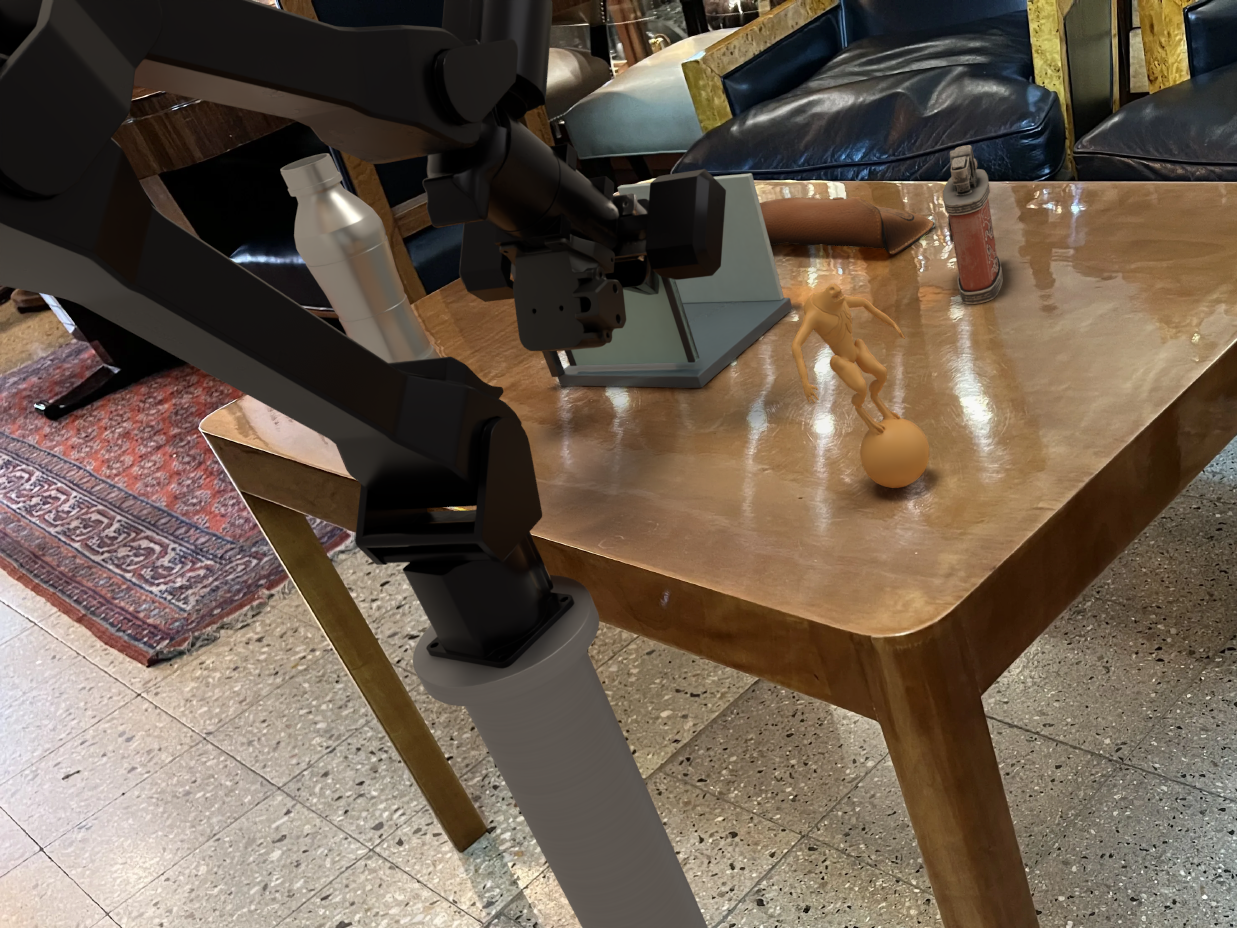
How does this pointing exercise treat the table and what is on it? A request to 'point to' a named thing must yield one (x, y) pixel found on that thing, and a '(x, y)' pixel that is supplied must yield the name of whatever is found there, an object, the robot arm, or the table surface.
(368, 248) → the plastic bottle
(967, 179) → the lighter
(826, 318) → the figurine
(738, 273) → the shower stall
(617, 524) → the table surface
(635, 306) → the shower door
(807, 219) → the sunglasses case
